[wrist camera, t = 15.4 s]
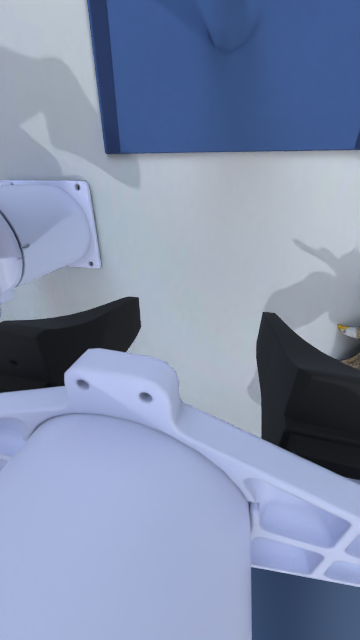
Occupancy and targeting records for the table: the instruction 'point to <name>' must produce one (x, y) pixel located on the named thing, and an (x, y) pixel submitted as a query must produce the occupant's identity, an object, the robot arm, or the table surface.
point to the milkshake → (229, 20)
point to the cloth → (227, 78)
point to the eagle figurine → (355, 332)
